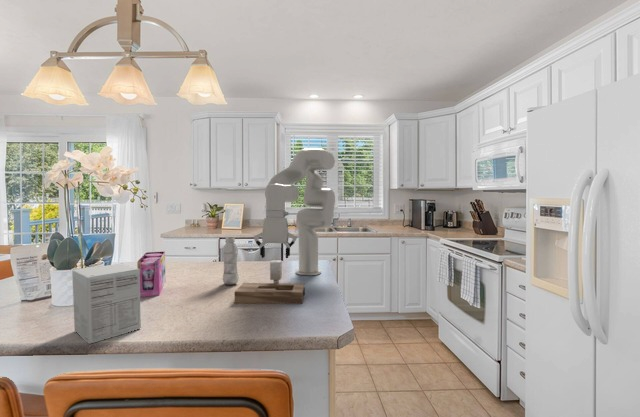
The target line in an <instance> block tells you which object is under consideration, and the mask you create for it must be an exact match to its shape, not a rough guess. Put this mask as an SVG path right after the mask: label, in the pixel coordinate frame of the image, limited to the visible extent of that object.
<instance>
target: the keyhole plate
mask: <svg viewBox="0 0 640 417" xmlns="http://www.w3.org/2000/svg"><path fill="white" fill-rule="evenodd" d="M305 285H306V283H304V282H303V283H298V282H297V283H295V282H293V283H292V282H290V283H285V282H281V283H280V282H279V283H273V282H269V283H268V282H243V283H242V284H241V285H239V287H238V288H237V289H236V290H235V291H234V304H289V305H290V304H292V305H293V304H294V305H295V304H297V305H298V304H299V305H300V304H303V300H304V297H303V296H305V294H306V292H305V290H306V286H305Z"/></svg>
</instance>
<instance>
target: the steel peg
mask: <svg viewBox="0 0 640 417" xmlns="http://www.w3.org/2000/svg"><path fill="white" fill-rule="evenodd" d="M269 266H270V268H269V276H270V277H269V280H271V281H273V282H272V283H280V281H281V279H282V278H283V277H282V276H283V273H282V271H283V270H282V268H283V266H282V260H281V259H280V260H273V259H272V260H271V261H270V262H269Z"/></svg>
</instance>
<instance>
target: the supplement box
mask: <svg viewBox="0 0 640 417" xmlns="http://www.w3.org/2000/svg"><path fill="white" fill-rule="evenodd" d="M71 274H72V296H73V320H74V321H73V323H74V333H76V332H77V333H78V334H79V335H80V336H79V335H78V334H77V333H76V334H77V335H78V336H79V337H80V338H82V339H83V341H85V342H86V343H87V344H89V345H90V344H94V343H97V342H100V341H101V342H102V341H105V340H107V339H111V337H112V338H114V337H118V336H121V334H122V335H126V334H128V332H129V333H132V332H135V331H134V330H136V331H138V330H137V329H139V330H141V329H142V327H141V325H142V324H141V322H142V321H141V320H142V319H141V315H142V314H141V297H140V269H137V267H134V266H131V265H128V264H124V263H115V264H114V263H113V264H108V265H102V266H101V265H100V266H94V267H87V268H81V269H74V270H73V269H72V272H71ZM140 328H141V329H140ZM131 331H132V332H131ZM104 339H105V340H104Z"/></svg>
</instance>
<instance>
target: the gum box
mask: <svg viewBox="0 0 640 417" xmlns="http://www.w3.org/2000/svg"><path fill="white" fill-rule="evenodd" d="M136 266H137V267H136V268H137V269H140V298H144V297H157V296H160V295H161V292H162V291H163V289H164V287H165V284H166V280H167V279H166V251H151V252H150V251H148V252H145V253H144V254H143V255H142V256H141V257H140V258H139V259H138V261H137V265H136Z"/></svg>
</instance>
